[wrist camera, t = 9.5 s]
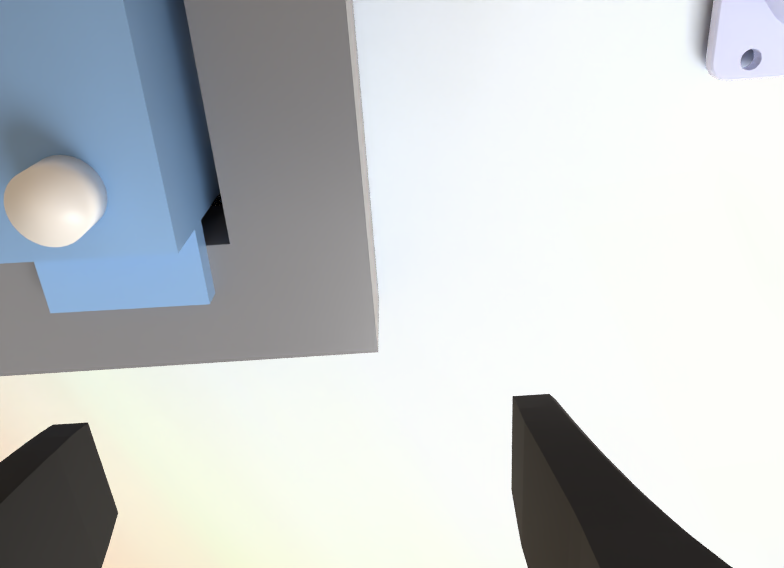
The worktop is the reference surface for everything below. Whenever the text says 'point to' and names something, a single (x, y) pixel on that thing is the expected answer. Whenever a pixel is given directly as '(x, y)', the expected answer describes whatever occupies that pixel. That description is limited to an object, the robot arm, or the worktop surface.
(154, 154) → the servo
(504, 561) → the worktop surface
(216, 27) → the chassis
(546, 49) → the worktop surface
